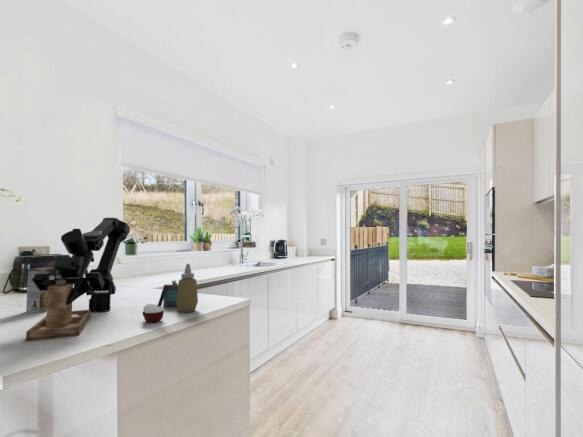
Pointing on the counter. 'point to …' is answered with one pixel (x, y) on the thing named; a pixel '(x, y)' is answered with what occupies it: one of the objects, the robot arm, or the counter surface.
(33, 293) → the coffee box
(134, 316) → the counter surface
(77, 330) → the tray
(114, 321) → the counter surface
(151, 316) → the rice bowl with chopsticks
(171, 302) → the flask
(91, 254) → the robot arm
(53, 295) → the pepper mill
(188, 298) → the squeeze bottle
